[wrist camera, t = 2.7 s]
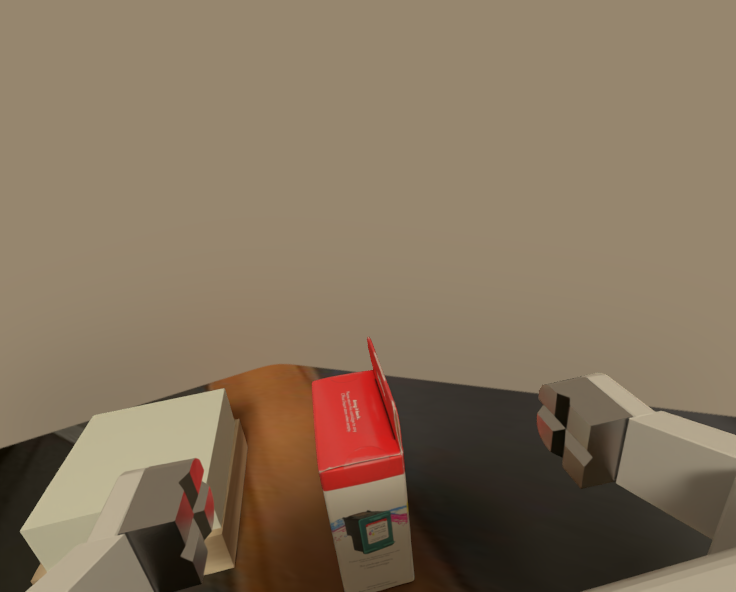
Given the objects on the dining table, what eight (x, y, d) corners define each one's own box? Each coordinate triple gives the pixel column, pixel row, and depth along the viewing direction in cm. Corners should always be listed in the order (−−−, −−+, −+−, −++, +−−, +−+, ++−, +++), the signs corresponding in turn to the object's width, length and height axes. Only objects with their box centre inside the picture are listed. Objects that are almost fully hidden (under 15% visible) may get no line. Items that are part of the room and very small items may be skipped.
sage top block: (235, 422, 38) (224, 388, 36) (221, 527, 28) (205, 486, 26) (110, 450, 36) (93, 415, 34) (47, 572, 26) (19, 531, 24)
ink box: (331, 494, 33) (302, 344, 28) (389, 481, 34) (371, 331, 28) (344, 604, 26) (306, 428, 20) (418, 585, 26) (403, 408, 20)
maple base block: (248, 450, 40) (239, 418, 38) (235, 570, 29) (221, 533, 27) (121, 478, 38) (105, 446, 37) (56, 617, 27) (30, 581, 26)
